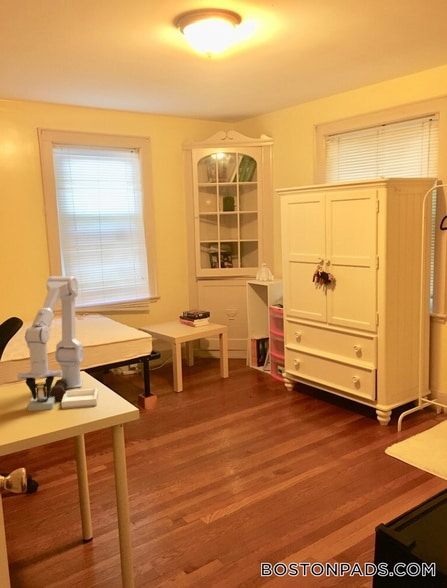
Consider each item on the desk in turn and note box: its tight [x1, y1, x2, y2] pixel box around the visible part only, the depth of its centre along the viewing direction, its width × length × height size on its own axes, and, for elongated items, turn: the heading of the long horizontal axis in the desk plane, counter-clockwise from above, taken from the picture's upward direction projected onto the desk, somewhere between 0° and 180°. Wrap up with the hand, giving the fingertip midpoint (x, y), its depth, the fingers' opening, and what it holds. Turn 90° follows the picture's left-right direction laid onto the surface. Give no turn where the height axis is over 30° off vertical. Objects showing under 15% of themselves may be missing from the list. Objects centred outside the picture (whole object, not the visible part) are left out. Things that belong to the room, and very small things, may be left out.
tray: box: [61, 387, 99, 410], centre depth 176 cm, size 12×12×2 cm
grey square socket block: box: [27, 395, 56, 412], centre depth 172 cm, size 8×8×2 cm
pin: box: [35, 381, 47, 403], centre depth 172 cm, size 4×4×8 cm
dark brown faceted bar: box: [50, 378, 68, 402], centre depth 184 cm, size 6×5×15 cm
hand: (41, 397), depth 172 cm, fingers closed on pin, 4 cm apart
